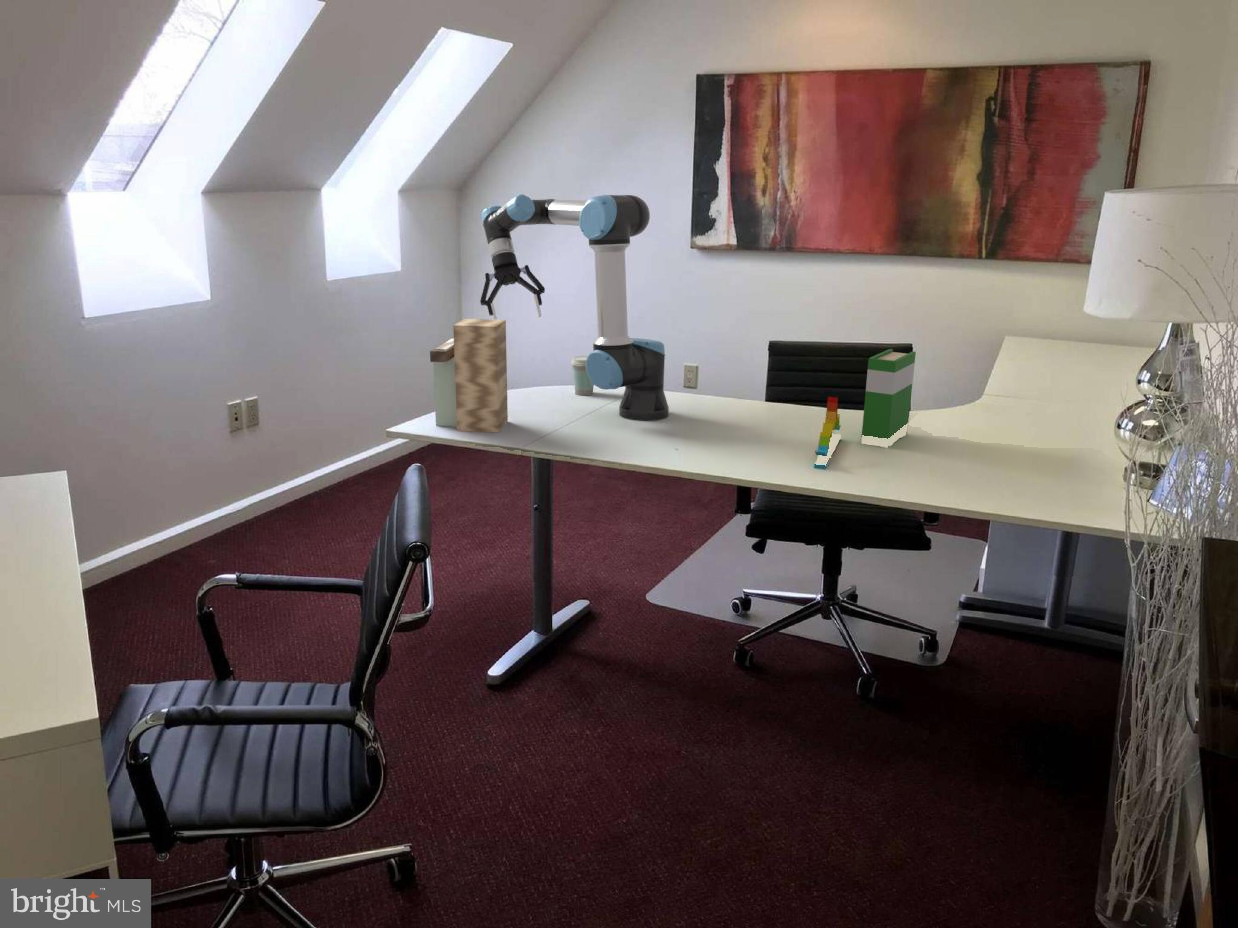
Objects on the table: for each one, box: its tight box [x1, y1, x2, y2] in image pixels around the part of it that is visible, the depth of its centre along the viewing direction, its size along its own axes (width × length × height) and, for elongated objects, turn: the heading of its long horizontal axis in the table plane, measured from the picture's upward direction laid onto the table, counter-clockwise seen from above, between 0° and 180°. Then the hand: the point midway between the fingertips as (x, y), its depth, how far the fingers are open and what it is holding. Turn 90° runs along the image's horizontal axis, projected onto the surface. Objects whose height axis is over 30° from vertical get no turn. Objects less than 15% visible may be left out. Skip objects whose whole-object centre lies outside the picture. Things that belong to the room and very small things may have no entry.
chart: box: [813, 396, 841, 470], centre depth 255 cm, size 30×3×15 cm, turn 161°
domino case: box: [429, 337, 454, 363], centre depth 276 cm, size 4×22×3 cm, turn 174°
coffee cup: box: [571, 355, 595, 396], centre depth 318 cm, size 8×9×12 cm
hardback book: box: [861, 348, 917, 439], centre depth 268 cm, size 18×7×24 cm, turn 147°
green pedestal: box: [432, 357, 457, 427], centre depth 279 cm, size 7×9×20 cm
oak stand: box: [452, 318, 509, 433], centre depth 274 cm, size 12×12×30 cm
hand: (518, 320), depth 297 cm, fingers open, 13 cm apart
